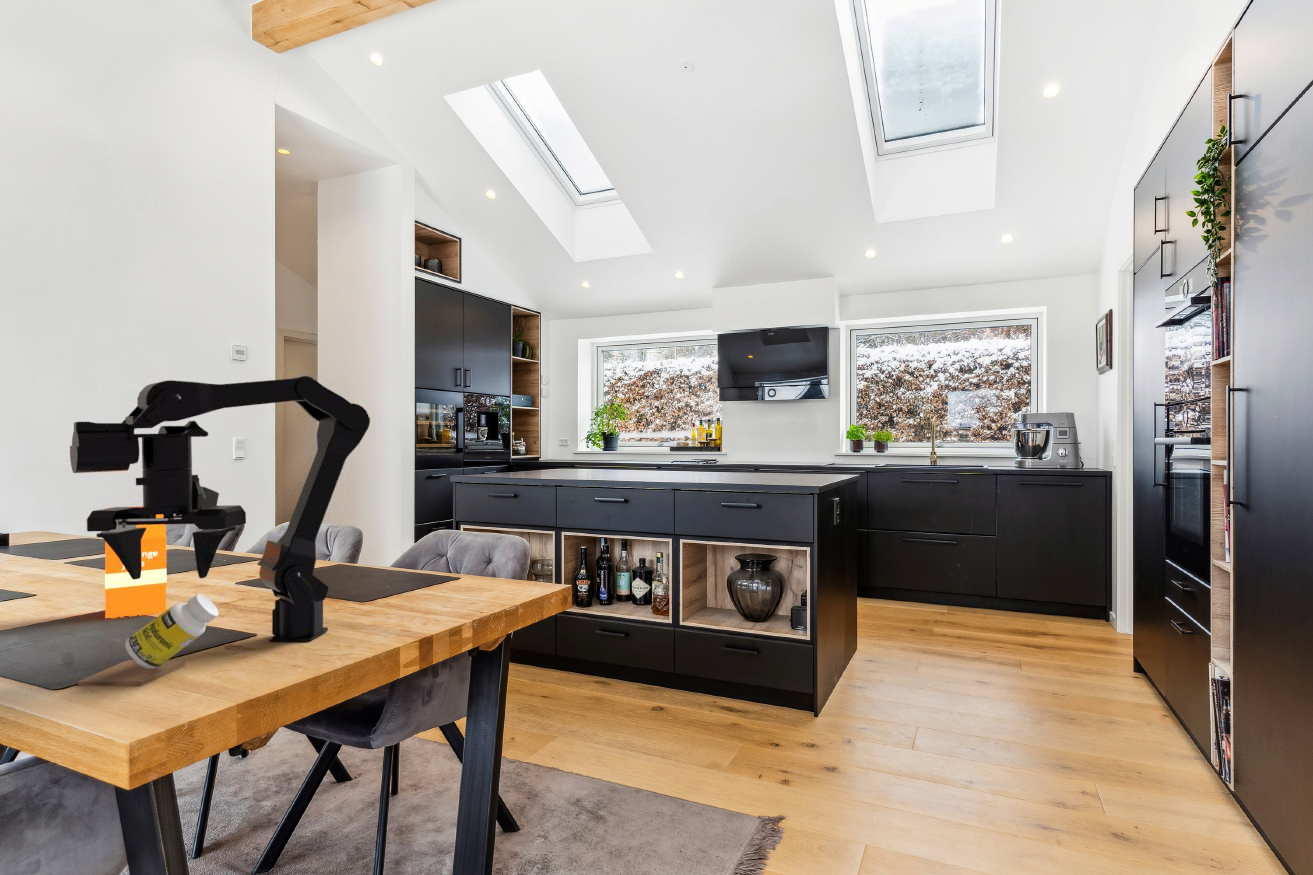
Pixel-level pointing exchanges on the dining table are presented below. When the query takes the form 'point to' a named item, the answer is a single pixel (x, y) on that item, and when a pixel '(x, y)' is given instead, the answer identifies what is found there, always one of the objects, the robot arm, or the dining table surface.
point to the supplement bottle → (171, 632)
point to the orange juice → (149, 588)
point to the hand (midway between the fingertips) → (169, 578)
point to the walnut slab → (131, 674)
